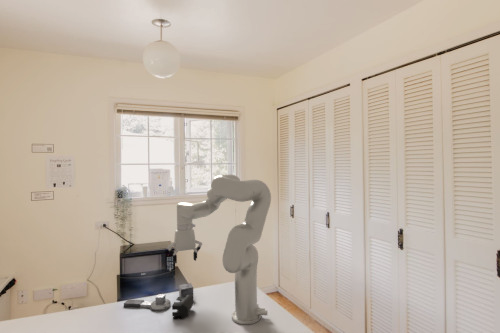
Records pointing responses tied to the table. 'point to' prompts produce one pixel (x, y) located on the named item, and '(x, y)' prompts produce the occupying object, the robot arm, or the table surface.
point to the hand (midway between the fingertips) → (185, 261)
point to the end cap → (182, 307)
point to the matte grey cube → (186, 290)
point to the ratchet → (150, 303)
